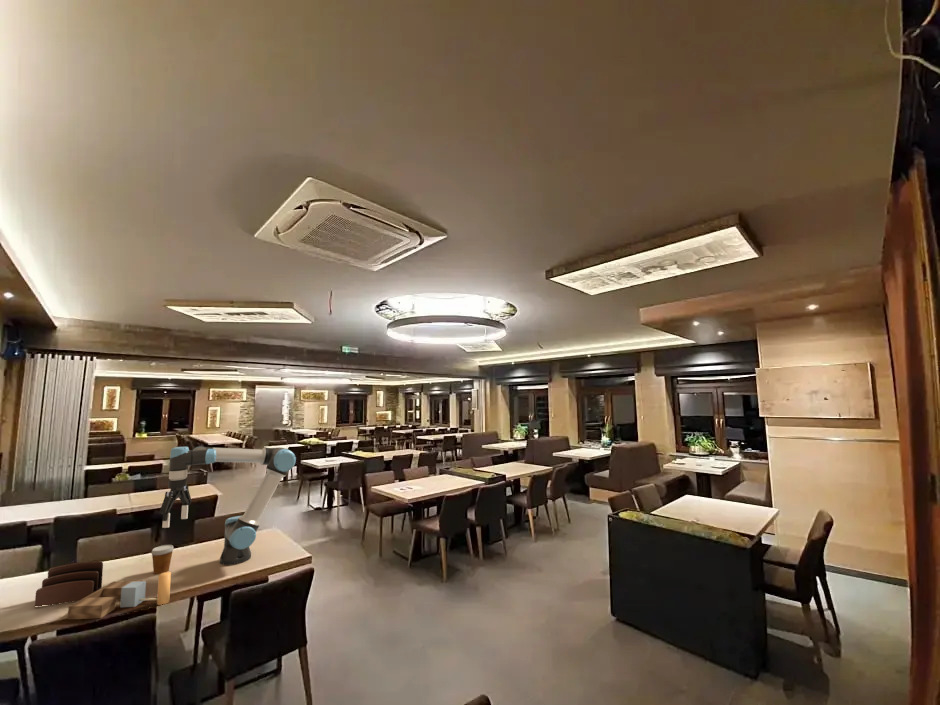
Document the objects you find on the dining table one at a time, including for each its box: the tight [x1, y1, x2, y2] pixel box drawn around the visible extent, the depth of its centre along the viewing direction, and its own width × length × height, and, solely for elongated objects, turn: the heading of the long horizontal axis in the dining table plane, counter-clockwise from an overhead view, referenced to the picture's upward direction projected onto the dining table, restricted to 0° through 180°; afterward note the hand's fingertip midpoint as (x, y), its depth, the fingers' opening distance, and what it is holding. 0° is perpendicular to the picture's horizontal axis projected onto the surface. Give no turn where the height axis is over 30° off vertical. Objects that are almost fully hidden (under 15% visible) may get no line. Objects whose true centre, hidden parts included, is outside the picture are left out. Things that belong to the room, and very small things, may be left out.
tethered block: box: [119, 571, 172, 608], centre depth 180 cm, size 18×6×12 cm, turn 93°
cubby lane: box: [67, 580, 144, 620], centre depth 179 cm, size 13×22×5 cm, turn 3°
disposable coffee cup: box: [150, 544, 175, 575], centre depth 212 cm, size 10×10×12 cm
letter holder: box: [34, 560, 104, 607], centre depth 185 cm, size 10×20×14 cm, turn 114°
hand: (175, 523), depth 200 cm, fingers open, 13 cm apart
